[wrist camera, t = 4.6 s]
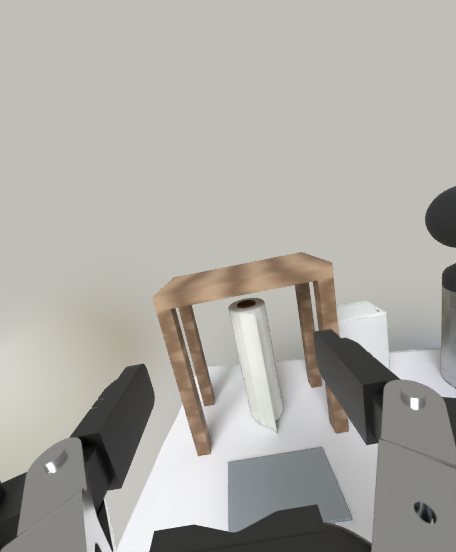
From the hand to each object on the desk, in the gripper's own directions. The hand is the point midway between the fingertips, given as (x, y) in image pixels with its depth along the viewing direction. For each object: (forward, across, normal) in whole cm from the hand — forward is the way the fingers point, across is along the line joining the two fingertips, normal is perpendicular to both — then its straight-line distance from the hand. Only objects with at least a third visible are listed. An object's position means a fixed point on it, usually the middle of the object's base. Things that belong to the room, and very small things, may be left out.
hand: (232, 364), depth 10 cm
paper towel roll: (+25, +2, -28) cm, 37 cm away
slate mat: (+13, +2, -28) cm, 31 cm away
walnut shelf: (+25, +2, -28) cm, 37 cm away
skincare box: (+28, +21, -28) cm, 45 cm away
